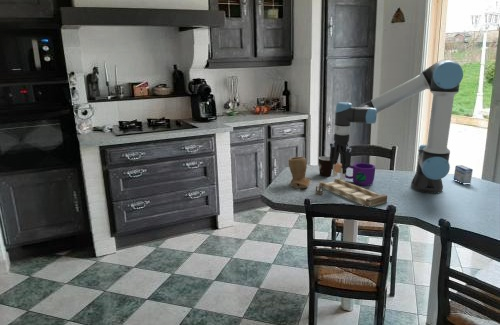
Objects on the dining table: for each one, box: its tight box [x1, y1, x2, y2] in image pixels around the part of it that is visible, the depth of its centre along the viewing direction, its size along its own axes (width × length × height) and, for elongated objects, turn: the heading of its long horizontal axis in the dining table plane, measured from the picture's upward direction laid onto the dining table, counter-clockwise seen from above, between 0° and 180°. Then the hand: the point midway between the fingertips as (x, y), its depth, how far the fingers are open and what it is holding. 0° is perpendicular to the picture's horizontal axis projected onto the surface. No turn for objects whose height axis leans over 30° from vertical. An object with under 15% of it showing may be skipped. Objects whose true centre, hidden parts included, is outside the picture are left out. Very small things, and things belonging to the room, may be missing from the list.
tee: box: [315, 185, 324, 196], centre depth 196 cm, size 3×3×4 cm
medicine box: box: [453, 164, 474, 184], centre depth 211 cm, size 8×4×9 cm, turn 13°
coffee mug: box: [318, 156, 333, 178], centre depth 225 cm, size 12×9×10 cm
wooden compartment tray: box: [318, 177, 388, 207], centre depth 195 cm, size 34×12×4 cm, turn 32°
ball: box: [334, 162, 342, 174], centre depth 200 cm, size 5×5×5 cm
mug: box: [345, 162, 376, 187], centre depth 211 cm, size 17×11×10 cm, turn 59°
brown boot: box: [288, 156, 311, 190], centre depth 207 cm, size 15×12×15 cm
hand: (338, 177), depth 201 cm, fingers closed on ball, 5 cm apart
